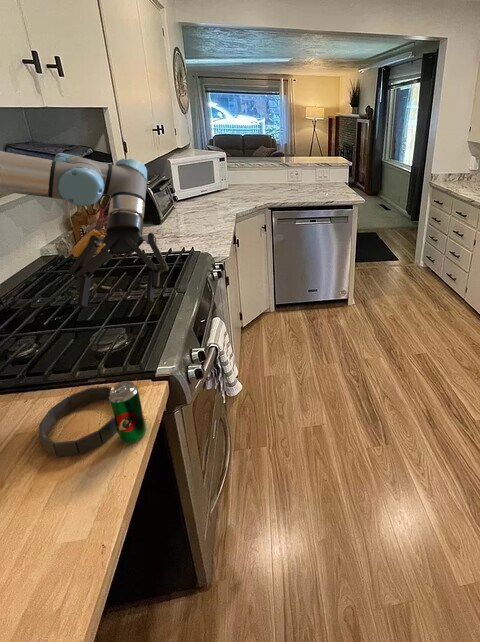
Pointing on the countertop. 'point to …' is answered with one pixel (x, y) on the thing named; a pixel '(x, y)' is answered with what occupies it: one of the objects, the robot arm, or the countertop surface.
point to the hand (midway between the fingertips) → (116, 303)
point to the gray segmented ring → (85, 442)
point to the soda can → (127, 412)
